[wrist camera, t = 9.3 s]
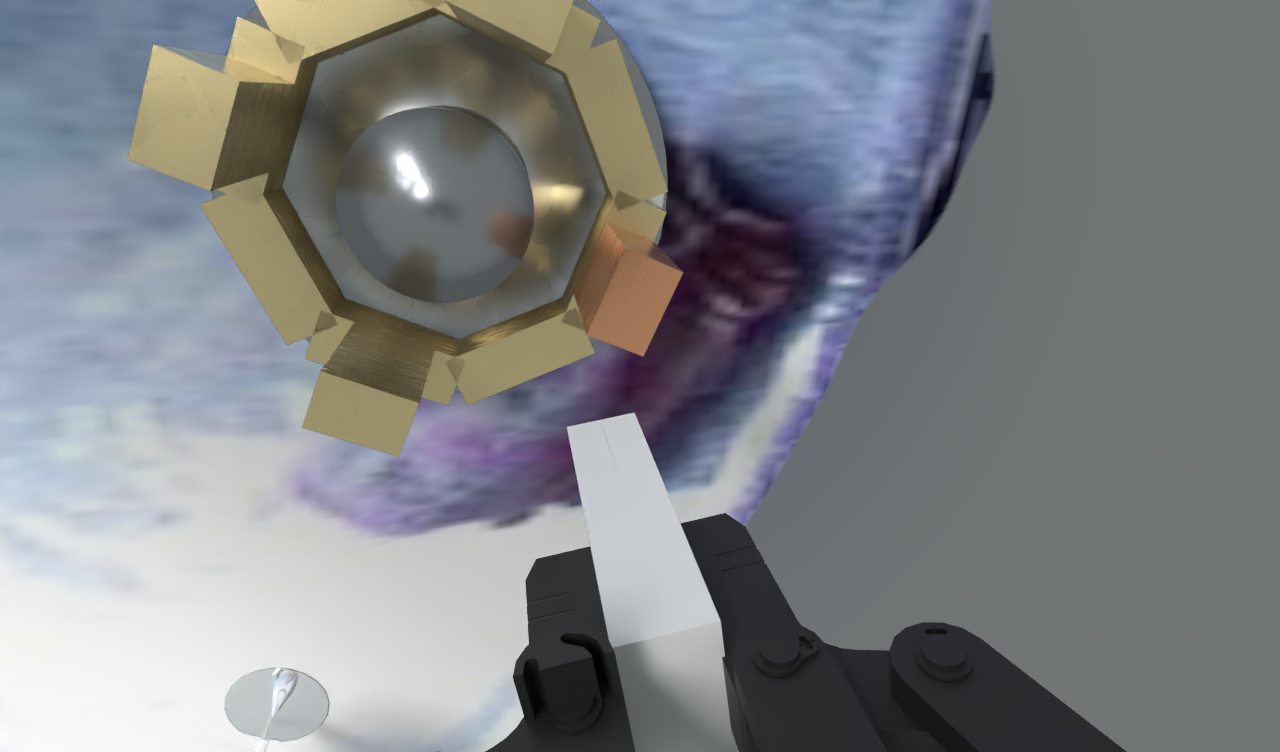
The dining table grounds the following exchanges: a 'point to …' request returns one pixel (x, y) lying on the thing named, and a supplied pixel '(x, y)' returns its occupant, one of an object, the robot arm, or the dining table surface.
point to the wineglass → (276, 706)
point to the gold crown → (293, 267)
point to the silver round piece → (449, 175)
